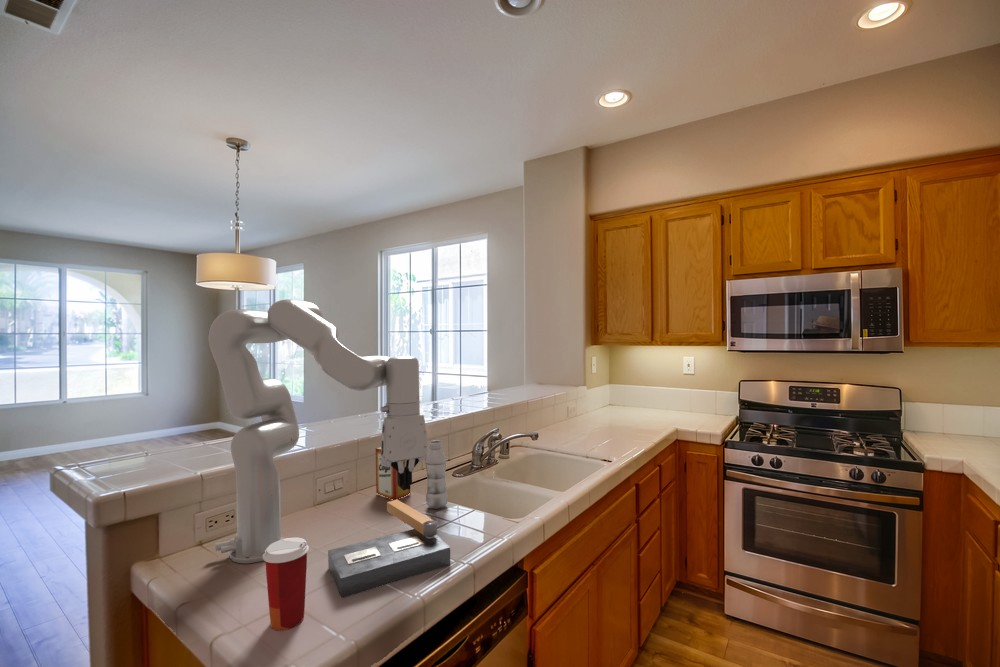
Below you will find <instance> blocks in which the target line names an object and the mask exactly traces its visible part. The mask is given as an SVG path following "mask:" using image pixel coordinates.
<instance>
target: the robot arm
mask: <svg viewBox="0 0 1000 667" xmlns="http://www.w3.org/2000/svg"><path fill="white" fill-rule="evenodd" d="M338 338H339V331H338V328H337V327H336V326H335V325H334V324H333V323H330V322H329V321H327V320H326V319H324V318H323V313H322V311H321V310H320V308H319V307H318V306H317V305H316V304H314V303H312V302H311V301H310V302H309V301H303V300H298V299H297V300H296V299H291V298H290V299H280V300H278V301H275V302H274V303H273V304H271V305H270V307H269V308H268V310H267V311H266V310H257V309H255V310H254V309H244V308H243V309H242V308H240V309H230V310H227V311H223V312H222V313H221V314H219V315H218V316H217V317H215V319H213V322H212V323H211V325H210V328H209V332H208V345H209V348H210V349H209V350H210V352H211V354H212V357H213V359H214V360H213V361H214V362H215V364H216V367H217V371H218V374H219V379H220V383H221V386H222V389H223V394H224V398H225V402H226V405H227V408H228V409H227V410H228V411H229V414H230V415H231V416H232V417H233V418H234V419H236V420H240V421H241V420H242V421H243V420H246V421H247V420H251V419H255V418H259V417H260V418H261V420H262V421H259V422H255V423H251V424H248V425H247V426H244V427H242V428H241V429H239V430H238V431H237V432H236V433H235V434H234V435H233V437H232V439H231V443H230V452H231V457H232V461H233V465H234V471H235V486H236V487H235V490H236V533H235V537H232V538H230V540H226V541H219V542H218V541H217V542H215V548H214V549H215V552H219V551H221V553H220V554H224V553H228V552H229V554H230V555H229V558H230V560H231V562H232V561H233V562H234V563H238V564H252V563H258V562H262V561H264V559H263V554H264V553H265V550H266V549H267V547H268V546H269V545H271V544H272V543H274V542H276V541H279V540H282V539H286V537H285V536H283V535H282V524H281V519H282V518H281V517H282V516H281V513H282V512H281V476H280V472H279V468H278V466H277V465H276V463H275V461H274V458H275V457H277V456H279V455H282V454H284V453H285V454H286V452H289V451H291V450H292V449H293V448H295V446H296V445H297V444H298V441H299V438H300V429H299V424H298V420H297V416H296V412H295V409H294V405H293V404H294V403H293V402H292V401H293V400H292V397H291V393H290V391H289V389H288V387H287V386H286V385H285V384H284V383H283V382H282V381H280V380H279V379H276V378H272V377H268V378H263V377H262V376H261V373H260V369H259V366H258V363H257V360H256V358H255V356H254V355H253V354H252V352H251V351H250V350H249V349H248V347H247V345H248V344H273V343H278V342H283V341H285V340H286V341H287V340H290V341H292V342H293V343H295V344H296V345H297V346H298V347H300V348H302V349H303V350H305V351H306V352H308V354H310V355H312V356H313V358H314V360H315V362H316V363H317V365H318V366H319V367H320V369H321V370H322V371H323V372H324V373H325V374H326V375H327V376H329V377H330V378H332V379H333V380H335V381H337V383H338V382H339V383H340V384H341V385H342V386H345V387H346V388H348V389H351V390H353V391H359V392H362V391H366V390H371V389H375V388H379V387H383V386H386V387H385V388H386V403H385V404H384V405H383V406H380V412H381V413H385V414H386V415H384V416H383V422H382V429H381V439H380V447H381V455H382V460H381V465H382V466H385V467H393V468H394V469H395V470H397V481H398V486H400V488H401V489H402V490H406V489H410V490H411V485H412V484H413V471H414V470H415V467H416V466H417V465H418V464H419V463H420V462H423V461H425V459H426V458H427V454H428V452H429V443H428V432H427V424H426V421H425V415H424V413H421V411H420V410H421V409H420V408H421V407H420V404H421V403H420V365H419V360H418V358H417V357H416V356H415V357H414V356H411V355H409V356H392V357H390V356H385V355H369V356H360V355H358V354H356V353H355V352H353V351H352V350H350V349H348V348H347V347H346V346H344V345H343V344H342V343H341V342H340V341H339V340H338ZM404 460H406V463H405V469H404V467H403V461H404ZM264 562H265V561H264Z"/></svg>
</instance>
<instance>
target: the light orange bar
mask: <svg viewBox="0 0 1000 667" xmlns="http://www.w3.org/2000/svg"><path fill="white" fill-rule="evenodd" d="M386 511H387V513H389V514H390V515H392V516H394V517H395V518H397V519H398V520H400V522H403V523H404V524H406V525H408V526H409V527H411V528H412V529H415V530H417V531H418V532H420V533H421V534H423V535H424V536H426V537H432V536H435V535H436V534H437V535H438V532H437V531H438V523H437V521H436V520H434V519H431V518H430V517H428V516H427V515H425V514H423V513H421V512H420V511H418V510H416V509H415V508H414V507H411V506H410V505H408V504H406V503H404V502H402V501H400V499H399V500H393V501H392V500H390V501H387V502H386Z"/></svg>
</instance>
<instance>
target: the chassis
mask: <svg viewBox="0 0 1000 667" xmlns="http://www.w3.org/2000/svg"><path fill="white" fill-rule="evenodd" d="M327 563H328V564H327V565H328V566H327V567H328V570H329V573H330V575H331V577H332V580H333V582H334V584H335V587H336V589H337V591H338V594H339V596H340V599H344V598H346V597H347V598H348V597H351V596H353V595H357V594H359V593H363V592H366V591H371V590H373V589H377V588H380V587H383V586H386V585H390V584H393V583H396V582H400V581H402V580H403V581H404V580H405V579H409V578H412V577H416V576H418V575H421V574H422V575H423V574H425V573H428V572H429V573H430V572H432V571H434V570H438V569H441V568H444V567H447V566H451V547H450V545H448V544H447V543H446V542H445V541H444V540H443V539H442V538H441V537H440V536H439V535H438V533H437V534H436V535H435V536H432V537H426V536H424V535H423V534H421V533H420V532H418V531H417V530H415V529H414V528H412V529H408V530H405V531H401V532H397V533H393V534H389V535H384V536H380V537H377V538H373V539H369V540H364V541H360V542H357V543H352V544H349V545H345V546H341V547H337V548H332V549H329V550H328V551H327ZM389 583H390V584H389ZM382 585H383V586H382ZM379 586H380V587H379ZM376 587H377V588H376Z"/></svg>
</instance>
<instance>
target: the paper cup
mask: <svg viewBox="0 0 1000 667" xmlns="http://www.w3.org/2000/svg"><path fill="white" fill-rule="evenodd" d="M285 538H286V537H285ZM307 543H308V542H307V541H306V539H304V538H301V537H287V538H286V539H282V540H279V541H276V542H274V543H272V544H271V545H269V546H268V547H267V549H266V550H265V553H264V554H263V559H264V562H265V574H266V575H265V576H266V584H267V585H266V586H267V596H268V597H267V598H268V600H267V602H268V609H269V620H270V622H269V623H270V627H271V629H272V630H275V631H280V632H281V631H287V630H291V629H293V628H295V627H297V626H298V625H300V624H301V623H302V622H303V620H304V619H305V606H306V584H307V568H308V566H307V564H308V562H307V561H308V552H309V550H310V546H309V545H308V544H307Z"/></svg>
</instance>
